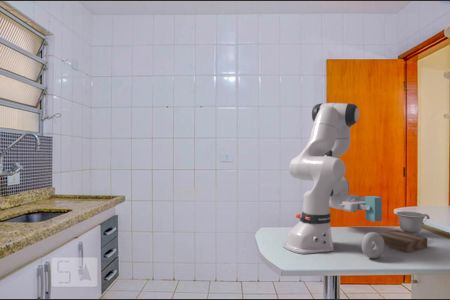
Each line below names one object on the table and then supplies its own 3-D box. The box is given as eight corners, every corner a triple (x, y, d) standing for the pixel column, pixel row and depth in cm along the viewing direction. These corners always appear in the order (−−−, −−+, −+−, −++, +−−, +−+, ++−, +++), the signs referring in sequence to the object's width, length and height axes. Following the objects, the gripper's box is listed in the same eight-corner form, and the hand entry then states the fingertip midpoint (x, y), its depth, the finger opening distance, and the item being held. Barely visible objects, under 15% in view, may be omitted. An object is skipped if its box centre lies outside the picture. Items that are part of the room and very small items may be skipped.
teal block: (374, 221, 136) (374, 197, 136) (365, 219, 141) (365, 196, 141) (381, 220, 138) (381, 197, 138) (372, 218, 143) (372, 196, 143)
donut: (379, 255, 116) (379, 229, 116) (386, 258, 113) (386, 231, 113) (359, 258, 113) (359, 232, 113) (366, 261, 110) (366, 234, 110)
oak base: (406, 252, 119) (406, 242, 119) (375, 243, 131) (375, 234, 131) (427, 247, 125) (427, 238, 125) (395, 238, 137) (395, 230, 137)
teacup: (437, 237, 138) (437, 216, 139) (405, 237, 139) (405, 216, 139) (421, 230, 151) (421, 211, 151) (391, 230, 151) (391, 211, 151)
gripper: (336, 198, 147) (359, 202, 134) (364, 196, 156) (389, 199, 143) (336, 210, 147) (359, 216, 134) (364, 208, 155) (389, 212, 143)
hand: (375, 207), depth 139 cm, fingers closed on teal block, 5 cm apart
